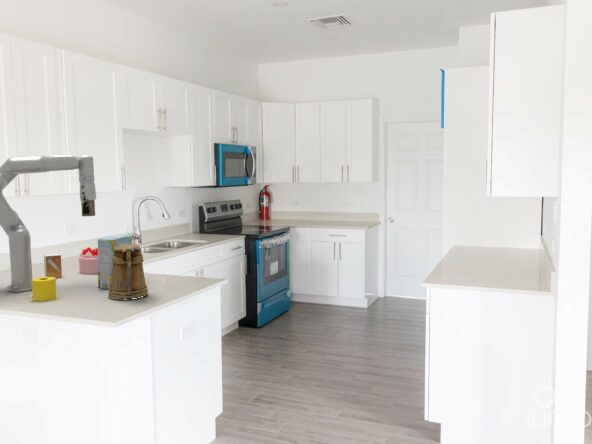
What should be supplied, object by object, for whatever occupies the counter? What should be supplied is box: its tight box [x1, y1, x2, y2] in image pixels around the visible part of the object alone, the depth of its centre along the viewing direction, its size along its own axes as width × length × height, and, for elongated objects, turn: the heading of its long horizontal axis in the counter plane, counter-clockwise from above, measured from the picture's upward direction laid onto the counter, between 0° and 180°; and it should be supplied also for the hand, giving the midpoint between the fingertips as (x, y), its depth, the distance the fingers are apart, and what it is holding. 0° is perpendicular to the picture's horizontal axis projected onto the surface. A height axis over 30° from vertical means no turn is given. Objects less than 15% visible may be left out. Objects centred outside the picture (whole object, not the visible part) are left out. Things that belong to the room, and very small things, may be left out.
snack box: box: [97, 234, 133, 290], centre depth 278 cm, size 22×9×26 cm, turn 168°
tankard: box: [108, 243, 149, 301], centre depth 251 cm, size 18×24×25 cm
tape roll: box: [32, 276, 57, 302], centre depth 250 cm, size 10×10×9 cm
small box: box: [43, 253, 63, 279], centre depth 299 cm, size 8×6×13 cm
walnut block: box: [80, 200, 96, 217], centre depth 282 cm, size 5×5×8 cm
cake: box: [78, 246, 98, 275], centre depth 317 cm, size 20×20×14 cm
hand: (88, 213), depth 282 cm, fingers closed on walnut block, 5 cm apart
